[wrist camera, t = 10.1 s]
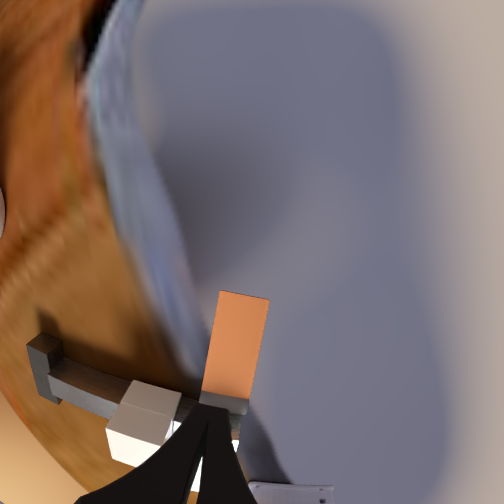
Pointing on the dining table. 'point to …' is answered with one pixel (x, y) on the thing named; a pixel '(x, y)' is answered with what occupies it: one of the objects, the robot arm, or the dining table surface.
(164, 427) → the carriage
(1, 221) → the coffee cup
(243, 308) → the lever
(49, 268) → the dining table surface
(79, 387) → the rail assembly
